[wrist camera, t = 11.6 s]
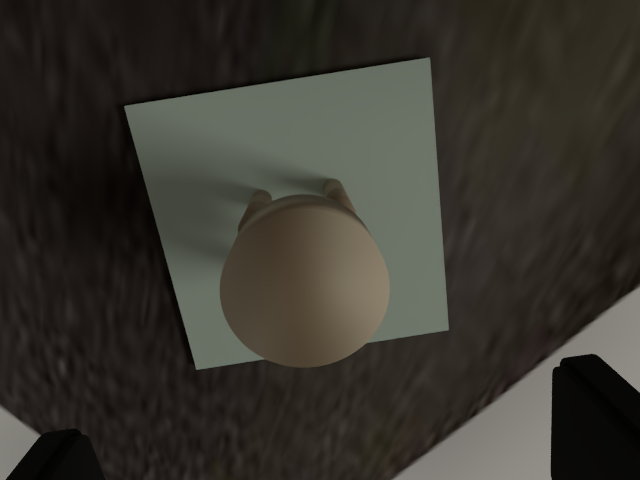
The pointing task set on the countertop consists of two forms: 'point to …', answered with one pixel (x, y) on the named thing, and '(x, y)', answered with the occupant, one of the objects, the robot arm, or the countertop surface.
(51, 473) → the robot arm
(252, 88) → the sage mat
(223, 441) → the countertop surface
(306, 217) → the round tan stool
